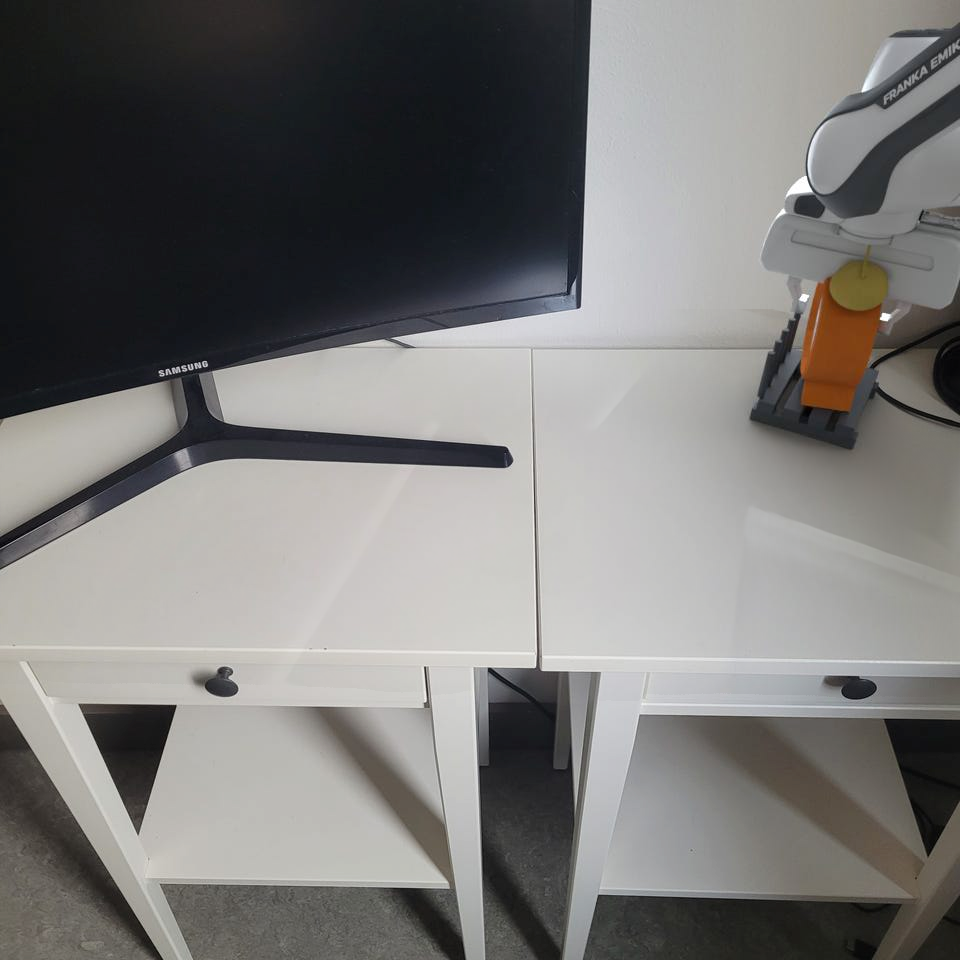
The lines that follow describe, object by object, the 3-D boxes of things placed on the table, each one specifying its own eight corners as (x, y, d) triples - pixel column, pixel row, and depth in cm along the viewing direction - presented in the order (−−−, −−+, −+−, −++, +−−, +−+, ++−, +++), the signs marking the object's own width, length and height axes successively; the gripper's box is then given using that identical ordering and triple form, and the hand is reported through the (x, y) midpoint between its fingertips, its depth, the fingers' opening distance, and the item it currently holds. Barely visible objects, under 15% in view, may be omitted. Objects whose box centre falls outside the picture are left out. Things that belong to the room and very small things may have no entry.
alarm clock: (798, 354, 104) (837, 199, 91) (849, 361, 102) (896, 204, 90) (795, 411, 94) (839, 246, 82) (852, 420, 93) (905, 253, 80)
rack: (876, 391, 103) (899, 328, 97) (851, 450, 94) (875, 385, 88) (780, 366, 108) (797, 304, 102) (748, 419, 98) (764, 355, 93)
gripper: (991, 211, 82) (942, 332, 91) (786, 175, 90) (760, 289, 99) (984, 234, 78) (933, 358, 87) (770, 193, 86) (744, 311, 95)
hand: (839, 321), depth 93 cm, fingers open, 8 cm apart
